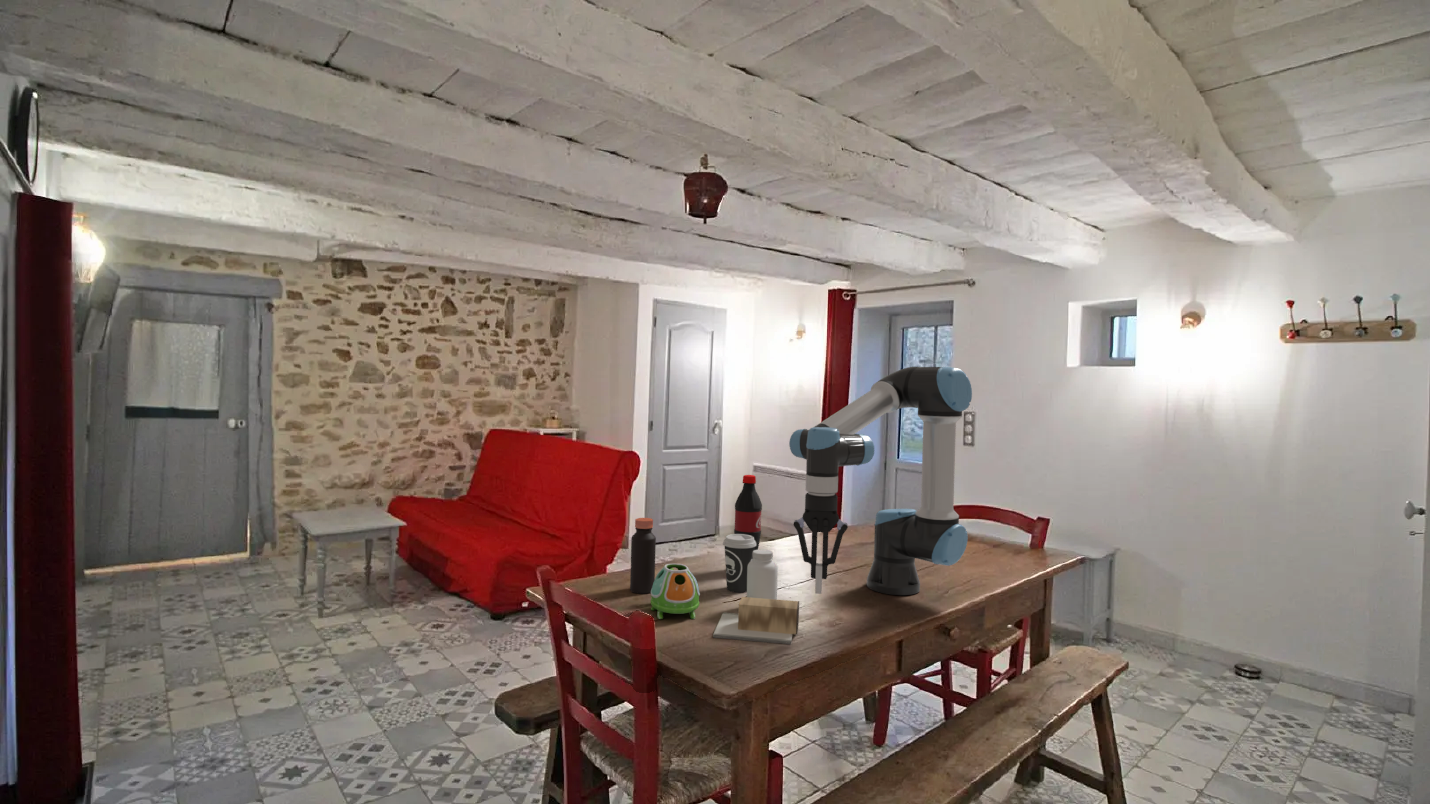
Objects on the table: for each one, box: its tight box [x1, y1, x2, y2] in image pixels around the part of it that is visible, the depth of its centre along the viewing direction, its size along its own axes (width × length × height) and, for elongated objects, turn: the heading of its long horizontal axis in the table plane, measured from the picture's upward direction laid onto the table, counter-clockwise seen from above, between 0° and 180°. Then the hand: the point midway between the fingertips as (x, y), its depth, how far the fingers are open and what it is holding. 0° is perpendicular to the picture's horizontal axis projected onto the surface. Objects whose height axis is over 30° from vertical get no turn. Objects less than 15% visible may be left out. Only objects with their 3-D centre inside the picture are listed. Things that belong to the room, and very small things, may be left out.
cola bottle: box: [733, 474, 763, 550], centre depth 225 cm, size 8×8×30 cm
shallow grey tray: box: [712, 612, 793, 645], centre depth 174 cm, size 18×16×1 cm
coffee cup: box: [722, 533, 756, 594], centre depth 206 cm, size 10×10×15 cm
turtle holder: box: [650, 563, 701, 620], centre depth 186 cm, size 12×18×12 cm
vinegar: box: [629, 517, 657, 595], centre depth 202 cm, size 7×7×20 cm
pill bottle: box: [746, 548, 779, 600], centre depth 190 cm, size 8×8×15 cm
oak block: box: [737, 596, 800, 635], centre depth 174 cm, size 6×6×14 cm
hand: (818, 591), depth 172 cm, fingers closed
